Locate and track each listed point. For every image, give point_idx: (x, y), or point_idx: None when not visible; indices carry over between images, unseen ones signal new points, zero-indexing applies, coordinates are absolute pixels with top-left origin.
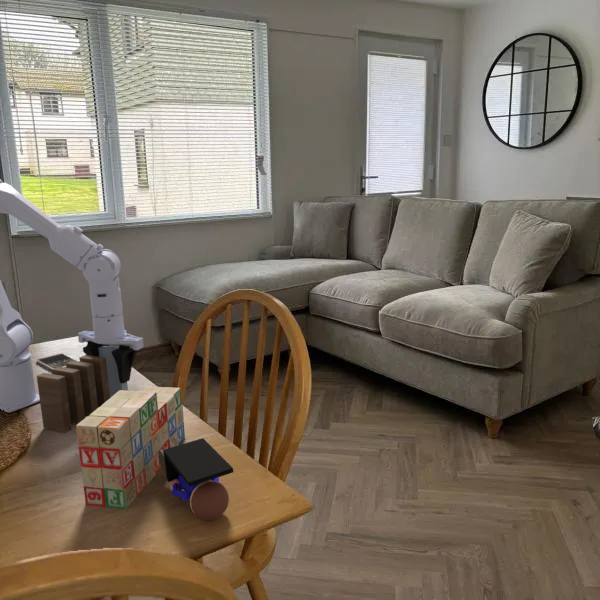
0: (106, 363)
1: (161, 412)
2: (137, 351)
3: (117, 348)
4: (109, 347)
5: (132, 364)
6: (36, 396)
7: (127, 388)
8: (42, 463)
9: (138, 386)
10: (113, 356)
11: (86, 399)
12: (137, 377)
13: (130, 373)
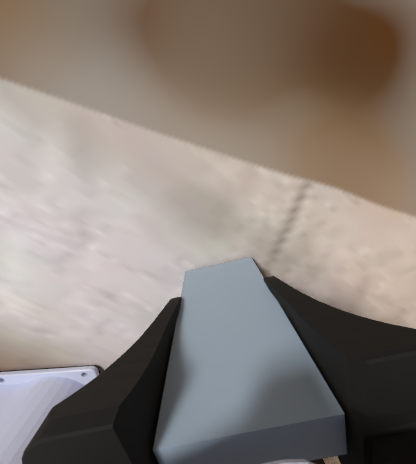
0: (323, 461)
1: None
2: (400, 328)
3: (299, 434)
4: (227, 450)
5: (316, 300)
6: (73, 379)
7: (257, 268)
8: (332, 460)
9: (207, 188)
10: (342, 461)
11: None
12: (136, 135)
13: (286, 284)
